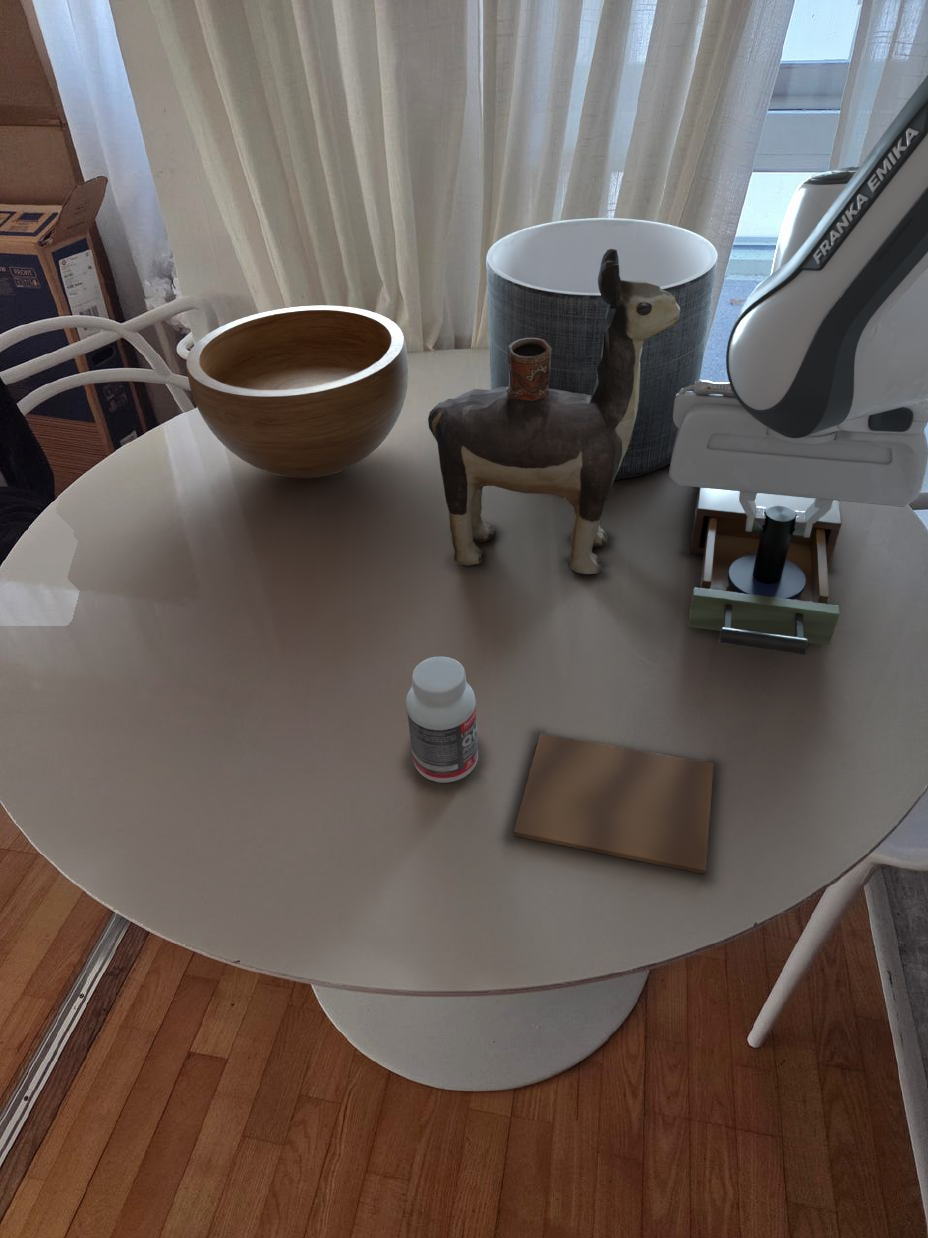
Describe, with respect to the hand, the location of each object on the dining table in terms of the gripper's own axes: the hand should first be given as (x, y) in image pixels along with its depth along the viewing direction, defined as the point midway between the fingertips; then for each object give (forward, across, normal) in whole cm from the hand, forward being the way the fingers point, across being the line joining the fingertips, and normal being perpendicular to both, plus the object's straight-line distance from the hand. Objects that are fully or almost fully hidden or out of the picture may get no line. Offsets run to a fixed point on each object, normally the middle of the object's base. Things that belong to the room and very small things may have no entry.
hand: (777, 531), depth 77 cm
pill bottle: (+9, -24, -26) cm, 36 cm away
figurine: (+8, -22, +4) cm, 24 cm away
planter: (+8, -22, +30) cm, 38 cm away
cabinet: (+8, 0, +14) cm, 17 cm away
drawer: (+8, 0, -1) cm, 8 cm away
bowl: (+8, -54, +16) cm, 57 cm away
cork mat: (+8, -10, -26) cm, 30 cm away
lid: (+6, 0, 0) cm, 6 cm away
